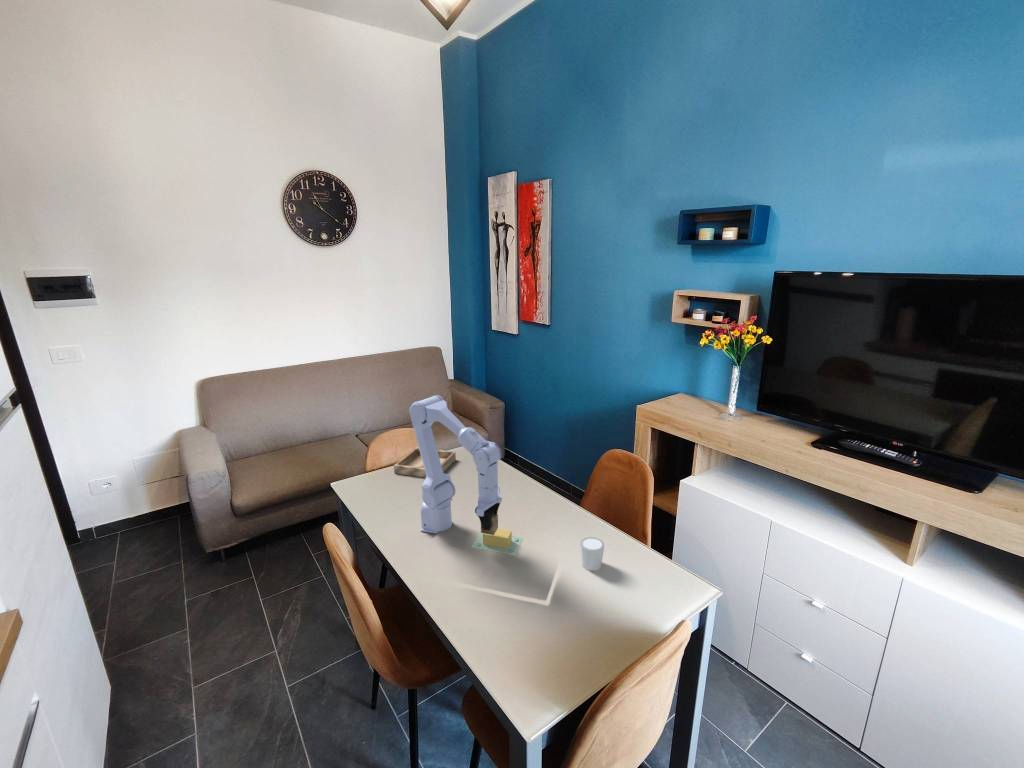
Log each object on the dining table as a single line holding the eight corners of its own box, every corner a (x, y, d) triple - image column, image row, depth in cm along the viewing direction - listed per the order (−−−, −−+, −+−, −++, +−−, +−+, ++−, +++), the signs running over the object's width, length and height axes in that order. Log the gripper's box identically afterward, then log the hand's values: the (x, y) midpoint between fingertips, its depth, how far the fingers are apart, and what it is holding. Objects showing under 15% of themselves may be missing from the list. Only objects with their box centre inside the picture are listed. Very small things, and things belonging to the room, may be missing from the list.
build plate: (470, 550, 143) (470, 546, 143) (481, 533, 152) (481, 530, 151) (514, 558, 139) (514, 554, 139) (523, 540, 148) (523, 537, 147)
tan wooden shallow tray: (394, 473, 194) (393, 465, 193) (416, 454, 211) (416, 447, 210) (436, 479, 188) (436, 471, 187) (455, 459, 205) (455, 452, 204)
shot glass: (605, 559, 138) (606, 539, 136) (601, 574, 132) (602, 552, 130) (581, 555, 141) (582, 534, 139) (577, 569, 134) (577, 548, 132)
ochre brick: (482, 544, 145) (482, 534, 144) (487, 536, 148) (487, 526, 147) (507, 548, 142) (507, 538, 141) (511, 541, 146) (511, 531, 145)
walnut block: (481, 532, 140) (480, 519, 139) (485, 525, 144) (485, 512, 143) (493, 534, 139) (493, 521, 138) (498, 527, 143) (497, 514, 142)
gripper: (492, 498, 130) (493, 541, 133) (509, 475, 143) (509, 514, 147) (468, 494, 132) (470, 536, 136) (487, 471, 145) (488, 511, 149)
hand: (489, 525), depth 141 cm, fingers closed on walnut block, 4 cm apart
